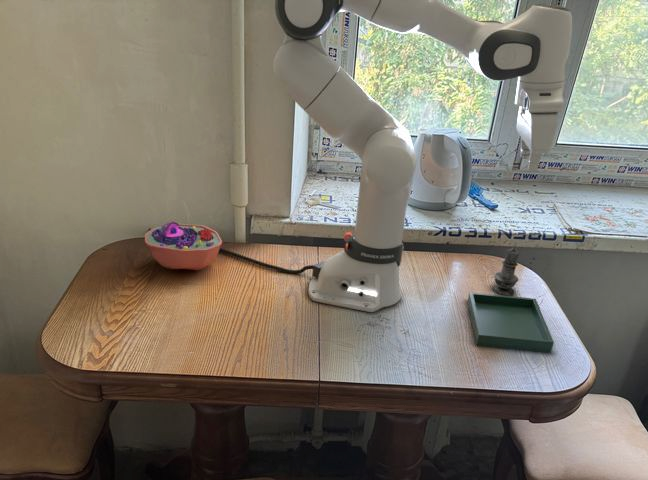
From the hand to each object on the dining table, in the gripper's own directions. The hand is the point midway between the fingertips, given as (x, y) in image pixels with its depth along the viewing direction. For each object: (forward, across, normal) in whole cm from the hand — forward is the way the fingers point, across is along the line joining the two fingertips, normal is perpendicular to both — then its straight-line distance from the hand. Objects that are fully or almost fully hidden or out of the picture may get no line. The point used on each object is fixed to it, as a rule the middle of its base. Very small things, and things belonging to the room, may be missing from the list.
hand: (528, 163), depth 129 cm
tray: (+33, +13, -2) cm, 35 cm away
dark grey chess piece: (+33, -5, 0) cm, 33 cm away
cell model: (+26, 0, -81) cm, 85 cm away
